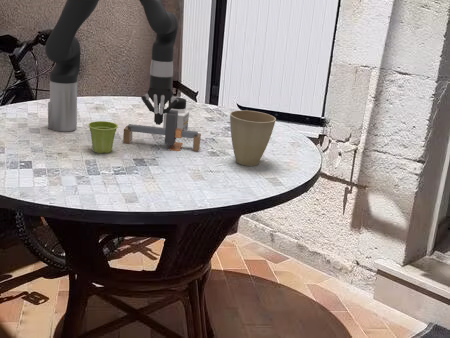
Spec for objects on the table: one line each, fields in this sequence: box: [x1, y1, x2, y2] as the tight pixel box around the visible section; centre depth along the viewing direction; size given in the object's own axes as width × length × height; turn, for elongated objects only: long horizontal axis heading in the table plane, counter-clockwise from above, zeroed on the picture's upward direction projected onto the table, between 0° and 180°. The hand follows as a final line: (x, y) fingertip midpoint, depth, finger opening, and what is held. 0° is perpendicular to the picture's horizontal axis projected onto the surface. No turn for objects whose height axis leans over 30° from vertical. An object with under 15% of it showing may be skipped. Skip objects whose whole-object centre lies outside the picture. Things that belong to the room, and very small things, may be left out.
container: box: [162, 96, 190, 131], centre depth 210 cm, size 8×8×13 cm
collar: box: [164, 110, 178, 145], centre depth 192 cm, size 3×7×10 cm, turn 177°
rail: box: [122, 123, 202, 152], centre depth 193 cm, size 26×9×6 cm, turn 87°
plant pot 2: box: [229, 109, 277, 167], centre depth 183 cm, size 15×15×16 cm
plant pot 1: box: [87, 120, 119, 154], centre depth 181 cm, size 9×9×9 cm
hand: (158, 124), depth 192 cm, fingers closed
